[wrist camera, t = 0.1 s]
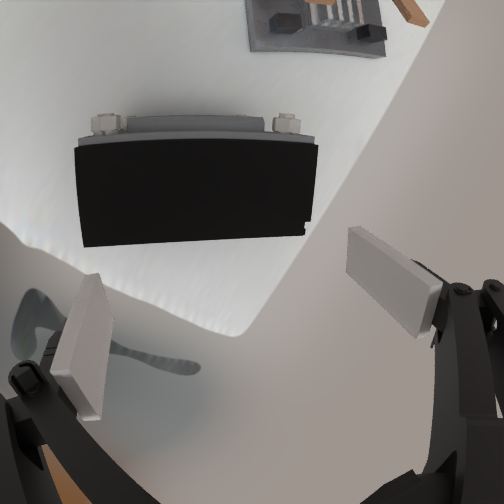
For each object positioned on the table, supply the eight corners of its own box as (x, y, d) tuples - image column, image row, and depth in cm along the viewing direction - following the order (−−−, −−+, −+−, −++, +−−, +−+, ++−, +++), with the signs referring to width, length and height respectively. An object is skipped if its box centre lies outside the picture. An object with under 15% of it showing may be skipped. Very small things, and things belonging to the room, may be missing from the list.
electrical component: (252, 116, 39) (321, 117, 21) (248, 188, 43) (308, 243, 25) (118, 117, 34) (73, 116, 17) (120, 193, 38) (85, 256, 21)
